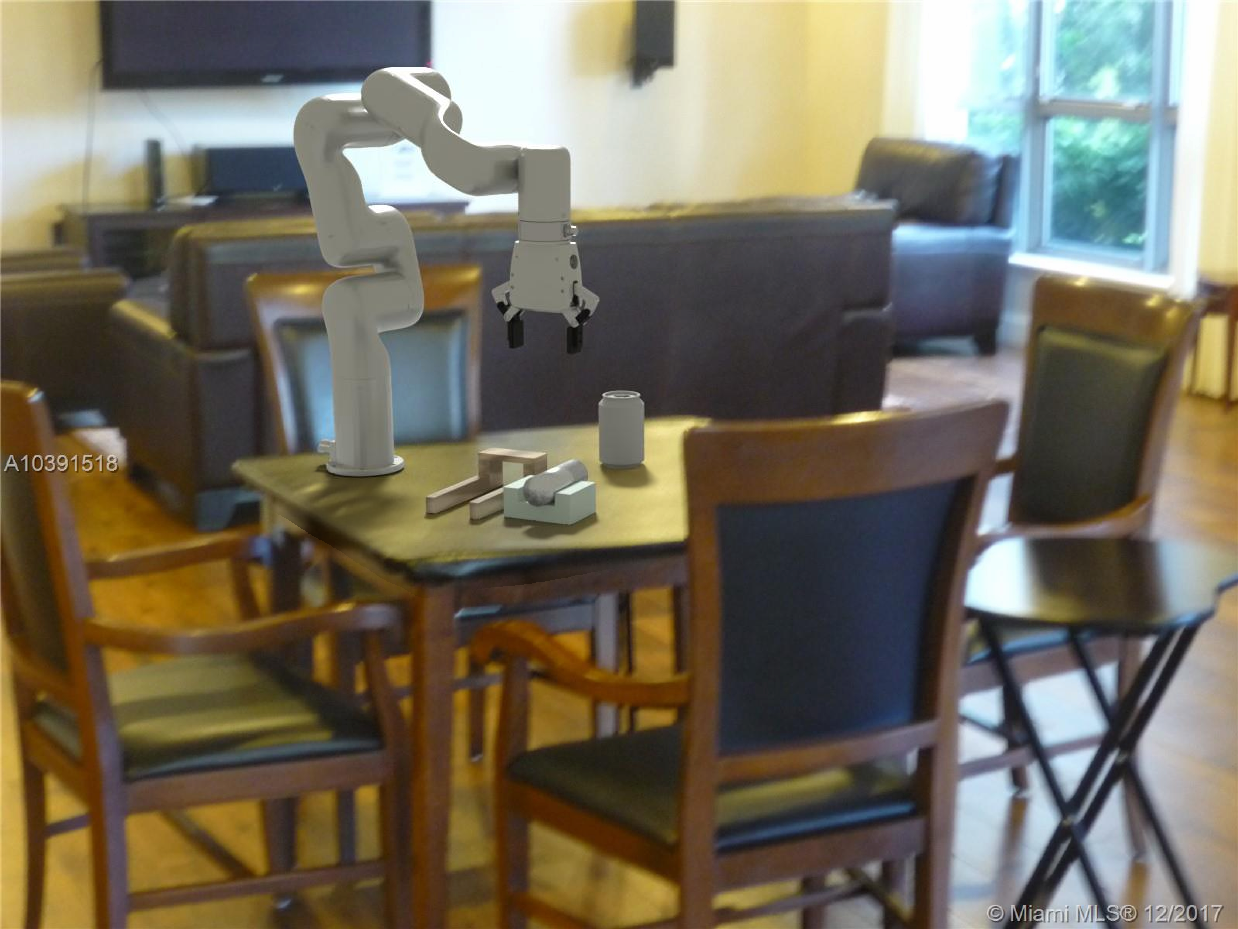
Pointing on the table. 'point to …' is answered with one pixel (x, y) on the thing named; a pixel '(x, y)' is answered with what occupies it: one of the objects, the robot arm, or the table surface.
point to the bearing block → (486, 482)
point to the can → (621, 429)
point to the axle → (553, 482)
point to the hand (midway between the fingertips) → (545, 349)
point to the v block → (552, 503)
